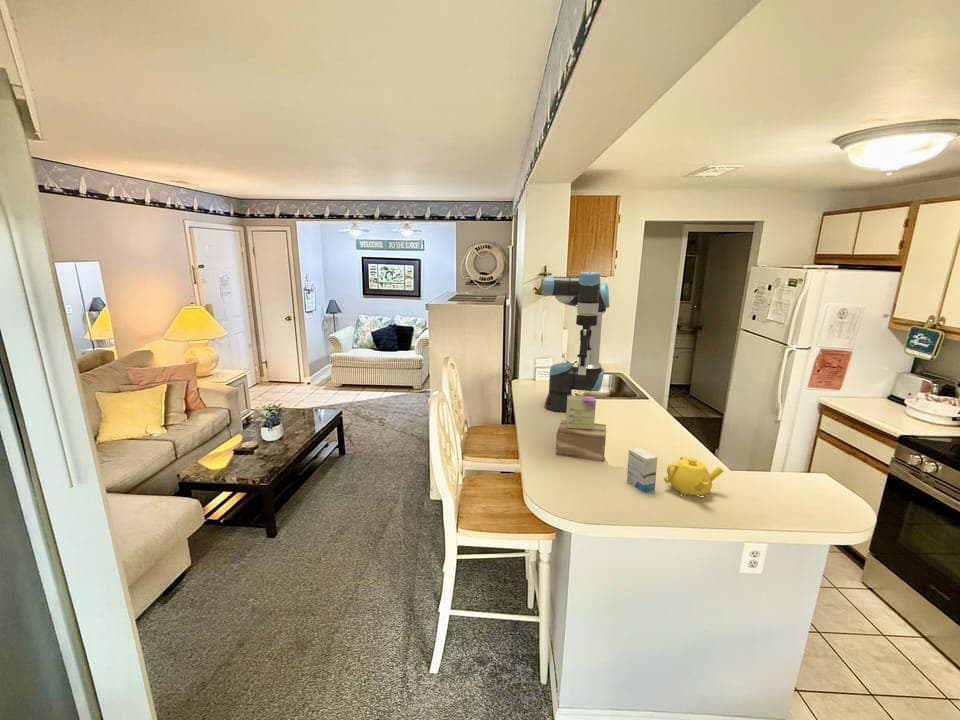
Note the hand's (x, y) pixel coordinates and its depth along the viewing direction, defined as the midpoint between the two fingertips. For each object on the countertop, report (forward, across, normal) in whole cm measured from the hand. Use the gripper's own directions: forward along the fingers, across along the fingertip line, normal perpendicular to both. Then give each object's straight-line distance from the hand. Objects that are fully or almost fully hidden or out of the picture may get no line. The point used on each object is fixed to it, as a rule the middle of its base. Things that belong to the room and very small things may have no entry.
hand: (583, 370), depth 158 cm
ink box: (+33, +21, +22) cm, 45 cm away
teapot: (+33, +20, +38) cm, 54 cm away
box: (+23, 0, 0) cm, 23 cm away
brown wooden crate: (+33, 0, +1) cm, 33 cm away
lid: (+23, 0, +1) cm, 23 cm away
